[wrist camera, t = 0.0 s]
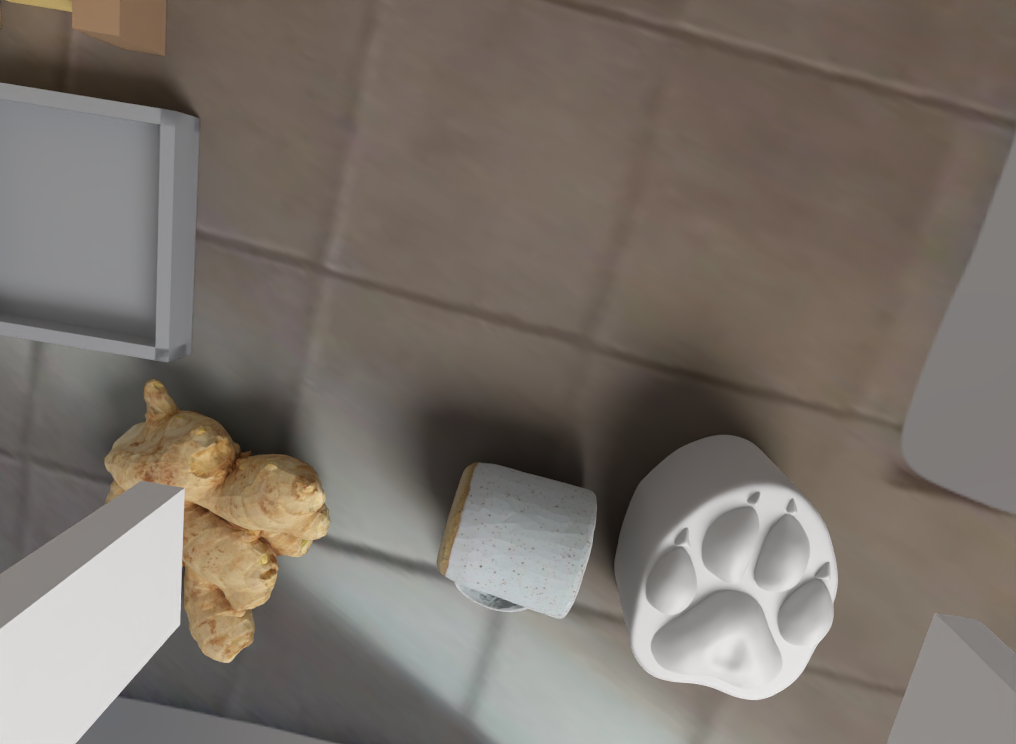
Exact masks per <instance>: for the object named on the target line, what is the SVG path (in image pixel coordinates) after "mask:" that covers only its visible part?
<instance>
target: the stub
mask: <svg viewBox="0 0 1016 744" xmlns="http://www.w3.org/2000/svg"><path fill="white" fill-rule="evenodd" d="M6 1H9V2H14V3H20V4H26V5H33V6H39V7H45V8H51V9H57V10H63V11H70V12H72V0H6Z"/></svg>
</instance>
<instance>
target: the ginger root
mask: <svg viewBox="0 0 1016 744" xmlns="http://www.w3.org/2000/svg"><path fill="white" fill-rule="evenodd" d="M144 400H145V402H146V404H147V413H146V414H145V417H146V422H143V423H138V424H136V425H134V426H133V427H132V428H130V429H129V430H128V431H127V432H126V433H125V434H124V435H122V436H121V437H120V438H119V439H118V440H117V441H116V442H114V444H113V447H112V450H111V451H110V452H109V454H108V455H107V456H106V457H105V458H104V461H105V466H106V469H107V471H109V472H110V473H111V474H112V476H113V478H114V481H113V482H112V484H111V485H110V492H109V494H108V495H107V498H106V503H105V504H107V503H108V502H110V501H111V500H113V499H114V498H116V497H117V496H119V495H120V494H122V493H123V492H125V491H127V490H128V489H130V488H131V487H133V486H134V485H136V484H137V483H139V482H140V481H146V482H152V483H158V484H164V485H170V486H176V487H182V488H185V495H184V523H183V551H182V567H185V576H184V609H185V611H186V613H187V616H188V619H189V629H190V632H191V635H192V636H193V638H194V639H195V640H196V641H197V643H198V645H199V647H200V649H201V650H202V652H203V653H204V654H205V655H207V656H208V657H210V658H212V659H214V660H217V661H220V662H225V663H229V662H230V661H232V660H233V659H234V657H235V656H236V655H237V654H238V653H239V652H240V651H241V650H242V649H243V648H245V647H247V646H248V645H250V644H251V643H252V642H253V641H254V637H253V634H254V632H255V625H254V619H253V613H252V609H253V608H255V607H257V606H259V605H261V604H264V603H265V602H266V601H267V600H268V599H269V597H270V594H271V591H272V589H273V588H274V584H275V582H276V579H277V573H278V568H279V566H278V564H277V560H276V558H277V556H278V555H286V556H292V557H300V556H302V555H304V554H306V553H307V551H308V549H309V547H310V545H311V544H312V542H313V540H314V539H319V538H321V537H323V536H325V535H326V533H327V530H328V527H329V524H330V517H329V510H328V508H327V507H326V505H325V503H324V502H325V500H326V495H325V492H324V491H323V489H322V486H321V481H320V479H319V477H318V475H317V473H316V471H315V470H314V469H313V468H312V467H311V466H310V465H308V464H307V463H305V462H303V461H302V460H300V459H297V458H294V457H291V456H288V455H282V454H265V455H256V456H252V452H251V450H250V451H247V452H242V453H241V450H240V446H239V445H238V444H236V443H234V442H233V441H232V438H231V436H230V435H229V434H228V433H227V431H226V430H225V429H224V428H223V426H222V425H221V424H220V423H219V422H218V421H216V420H214V419H212V418H210V417H207V416H204V415H201V414H199V413H197V412H193V411H184V410H179V409H178V407H177V406H176V404H175V403H174V401H173V399H172V397H171V396H169V394H168V392H167V390H166V388H165V387H164V385H163V384H162V383H161V382H160V381H158V380H156V379H154V378H153V379H151V380H149V381H147V382H146V384H145V386H144Z"/></svg>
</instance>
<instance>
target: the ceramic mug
mask: <svg viewBox="0 0 1016 744" xmlns="http://www.w3.org/2000/svg"><path fill="white" fill-rule="evenodd" d="M596 512H597V503H596V495H595V493H594V492H593V491H591V490H589V489H585V488H581V487H577V486H574V485H570V484H567V483H563V482H560V481H556V480H552V479H548V478H545V477H541V476H537V475H533V474H529V473H525V472H521V471H518V470H515V469H512V468H508V467H505V466H500V465H496V464H490V463H478V462H476V463H473V464H471V465H469V466H467V467H466V468H465V470H464V472H463V474H462V477H461V480H460V483H459V486H458V489H457V492H456V495H455V498H454V501H453V504H452V507H451V510H450V514H449V517H448V520H447V524H446V527H445V530H444V534H443V537H442V541H441V545H440V549H439V553H438V557H437V566H438V569H439V571H440V572H441V574H443V575H444V576H446V577H447V578H449V579H451V580H453V581H454V582H455V585H456V587H457V588H458V590H459V591H460V592H461V593H462V594H463V595H464V596H466V597H467V598H468V599H470V600H472V601H473V602H475V603H477V604H479V605H481V606H484V607H486V608H489V609H493V610H497V611H503V612H519V611H523V610H526V609H531V610H534V611H537V612H540V613H543V614H546V615H548V616H551V617H554V618H558V619H561V618H563V617H564V616H566V615H567V613H568V611H569V610H570V609H571V607H572V605H573V603H574V601H575V598H576V596H577V593H578V591H579V588H580V584H581V582H582V578H583V575H584V572H585V569H586V566H587V562H588V559H589V555H590V552H591V547H592V542H593V534H594V529H595V524H596Z"/></svg>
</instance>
